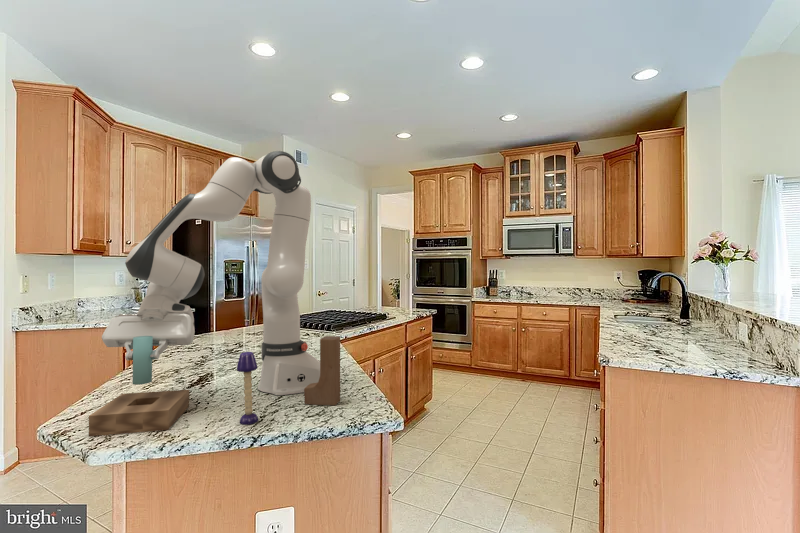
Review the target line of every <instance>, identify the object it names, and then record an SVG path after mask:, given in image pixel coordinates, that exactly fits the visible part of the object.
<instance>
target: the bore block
mask: <svg viewBox="0 0 800 533" xmlns="http://www.w3.org/2000/svg"><path fill="white" fill-rule="evenodd" d="M189 407H190V389H176V390H175V389H173V390H161V391H160V390H158V391H144V392H130V393H129V392H128V393H127V392H126V393H121V394H120V395H118V396H117V397H115V398H114V399H112V400H111V401H109V402H108V403H106V404H104V405H103V406H101V407H100V408H99V409H97V410H95V411H94V412H92V413H91V414H89V415H88V437H94V436H95V437H96V436H98V435H99V436H109V434H111V435H123V434H135V433H143V432H144V433H145V432H147V433H148V432H159V431H160V432H161V431H169V430H170V429H171V428H172V426H173V425H174V424H175V423H176V422H177V421H178V420H179V418H180V417H182V415H183V414H184V413H185V412H186V411H187V409H189ZM99 436H98V437H99Z"/></svg>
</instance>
